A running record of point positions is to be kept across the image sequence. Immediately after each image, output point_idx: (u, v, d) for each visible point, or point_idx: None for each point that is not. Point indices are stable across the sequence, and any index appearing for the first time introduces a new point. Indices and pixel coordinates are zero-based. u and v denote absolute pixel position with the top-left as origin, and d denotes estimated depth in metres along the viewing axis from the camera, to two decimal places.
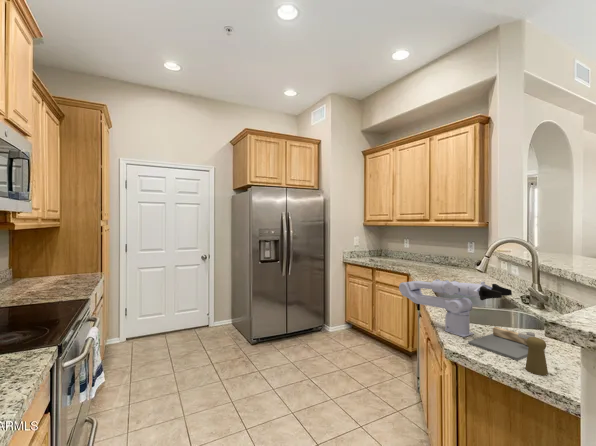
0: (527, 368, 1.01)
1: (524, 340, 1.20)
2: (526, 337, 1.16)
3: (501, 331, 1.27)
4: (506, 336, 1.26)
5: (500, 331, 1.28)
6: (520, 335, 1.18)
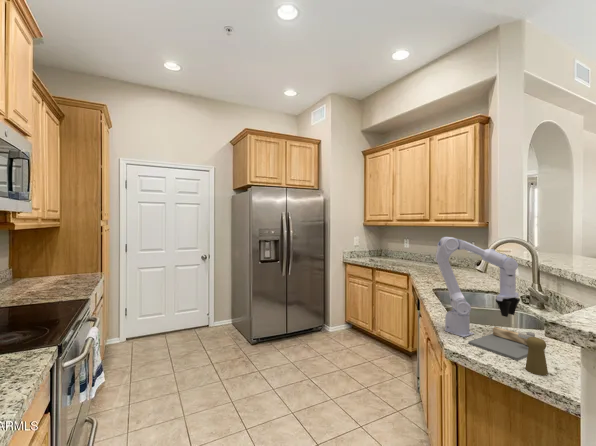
0: (527, 368, 1.01)
1: (524, 340, 1.20)
2: (526, 337, 1.16)
3: (501, 331, 1.27)
4: (506, 336, 1.26)
5: (500, 331, 1.28)
6: (520, 335, 1.18)
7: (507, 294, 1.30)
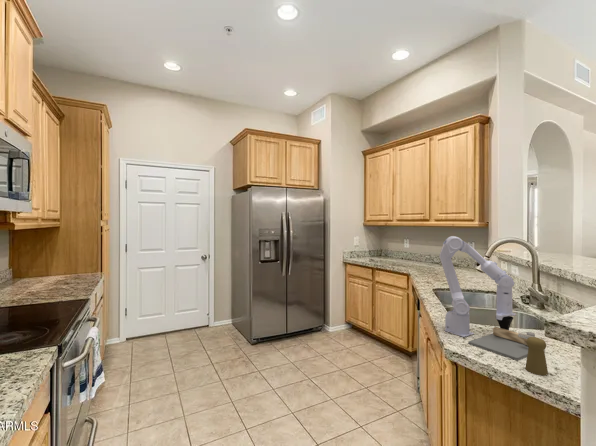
0: (527, 368, 1.01)
1: (524, 340, 1.20)
2: (526, 337, 1.16)
3: (501, 331, 1.27)
4: (506, 336, 1.26)
5: (500, 331, 1.28)
6: (520, 335, 1.18)
7: (505, 312, 1.27)
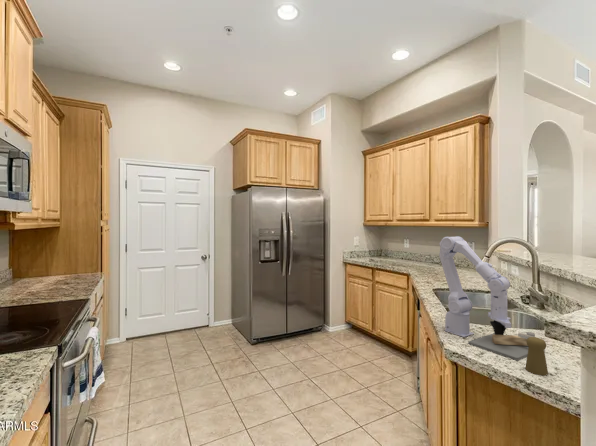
0: (527, 368, 1.01)
1: None
2: (526, 337, 1.16)
3: (504, 338, 1.20)
4: (509, 342, 1.19)
5: (503, 338, 1.20)
6: (520, 335, 1.18)
7: (505, 318, 1.20)
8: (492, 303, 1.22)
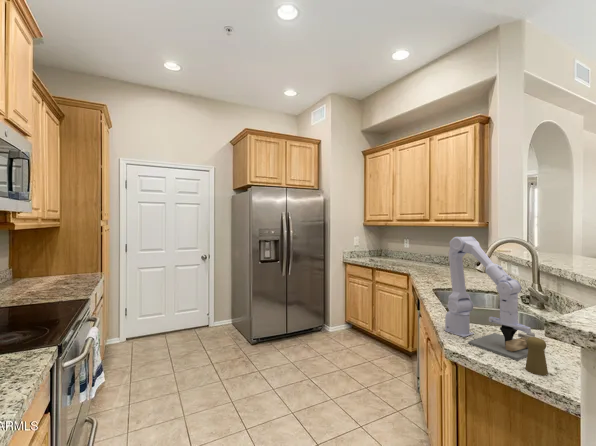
0: (527, 368, 1.01)
1: None
2: (526, 337, 1.16)
3: (517, 343, 1.14)
4: (520, 346, 1.15)
5: (517, 344, 1.14)
6: (520, 335, 1.18)
7: (517, 322, 1.15)
8: (501, 307, 1.17)
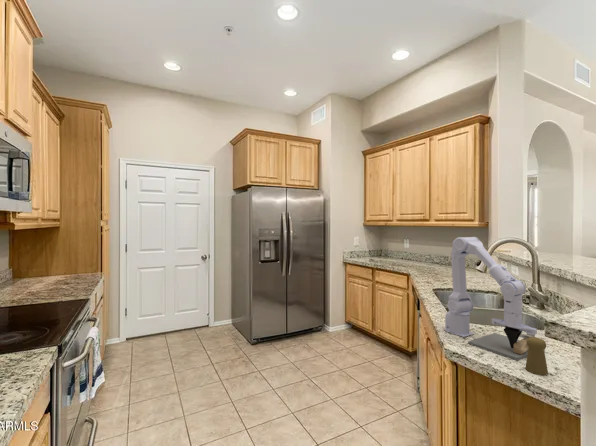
0: (527, 368, 1.01)
1: None
2: (526, 337, 1.16)
3: (524, 345, 1.12)
4: (526, 348, 1.13)
5: (524, 346, 1.12)
6: (520, 335, 1.18)
7: None
8: (505, 308, 1.15)
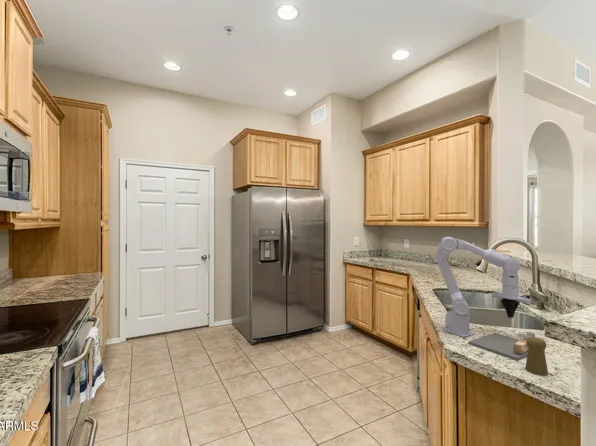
0: (527, 368, 1.01)
1: None
2: (526, 337, 1.16)
3: (524, 345, 1.12)
4: (526, 348, 1.13)
5: (524, 346, 1.12)
6: (520, 335, 1.18)
7: (518, 295, 1.27)
8: (508, 283, 1.27)
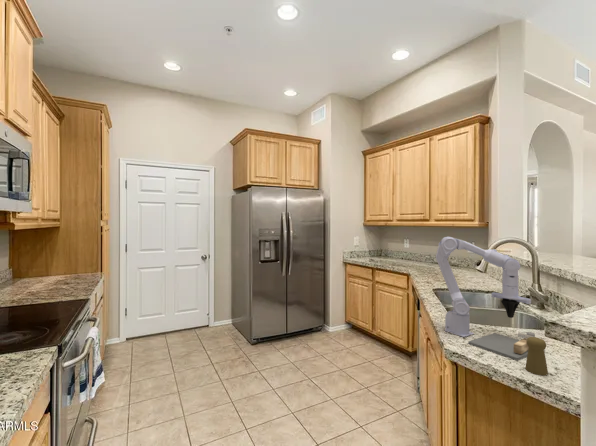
0: (527, 368, 1.01)
1: None
2: (526, 337, 1.16)
3: (524, 345, 1.12)
4: (526, 348, 1.13)
5: (524, 346, 1.12)
6: (520, 335, 1.18)
7: (518, 295, 1.27)
8: (508, 283, 1.27)
